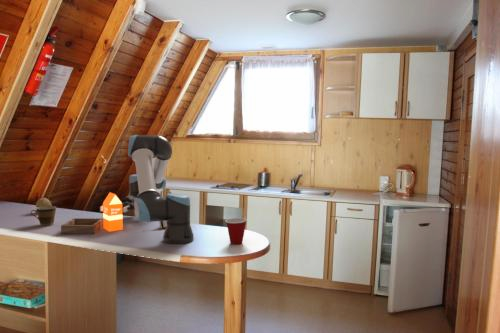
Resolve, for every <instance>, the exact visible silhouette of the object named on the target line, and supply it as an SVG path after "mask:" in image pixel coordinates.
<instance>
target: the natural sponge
mask: <svg viewBox="0 0 500 333" xmlns="http://www.w3.org/2000/svg"><path fill="white" fill-rule="evenodd" d="M42 206H53V205H52V202H51V200H49V199H48V198H46V197H41V198H39V199H38V200H37V201H36V203H35V207H36V208H38V207H42Z"/></svg>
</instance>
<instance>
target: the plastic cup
mask: <svg viewBox="0 0 500 333" xmlns="http://www.w3.org/2000/svg"><path fill="white" fill-rule="evenodd" d="M247 220H248V219H247V218H245V217H244V218H243V217H234V218H228V219H226V220H224V222H225V223H226V227H227V231H228V236H229V237H228V238H229V242H230V244H231V245H237V246H238V245H242V244H243V241H244V237H245V230H246V226H247V225H246V224H247Z"/></svg>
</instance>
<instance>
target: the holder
mask: <svg viewBox="0 0 500 333" xmlns="http://www.w3.org/2000/svg"><path fill="white" fill-rule="evenodd" d="M102 229H104V224H103V217H102V218H97V217H96V218H93V217H91V218H90V217H89V218H87V217H86V218H83V217H82V218H80V217H79V218H77V217H75V218H74V217H73V218H72V219H70V220H68V221H66V222H65V223H63V224H61V225H60V233H61V235H95V234H96V233H97V232H100V231H101V230H102Z"/></svg>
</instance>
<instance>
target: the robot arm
mask: <svg viewBox="0 0 500 333" xmlns="http://www.w3.org/2000/svg"><path fill="white" fill-rule="evenodd" d="M127 149H128V153H127V155H128V157H131V160H132V161H133V162H134V164H135V170H136V171H135V172H136V174H131V175H129V182H128V184H129V195H128V196H125V197H123V198H122V199H120V201H121V202H122V213H126V212H129V211H132V210H133V211H134V214H135V217H136V219H137V221H138V222H140V223H151V222H159V221H166V220H167V226H166V227H165V229H164V233H163V236H162V241H163V242H164V243H167V244H173V245H179V244H181V245H182V244H188V243H190V242H193V241H194V239H195V238H194V232H193V229H192V226H191V198H190V197H189V196H188V195H185V194H181V193H167V194H166V196H161V194H160V191H158V190H162V189H165V188H166V186H167V180H166V177H165V175H166V170H167V166H168V163H169V160H170V159H171V157H172V155H173V147H172V145H171V143H170V141H169V140H168V139H167V138H165V137H164V136H163V135H158V134H156V135H155V134H154V135H151V134H150V135H149V134H135V135H130V136H129V140H128V148H127ZM154 157H155V158H154ZM153 158H154V163H153ZM99 212H103V203H101V206H99Z"/></svg>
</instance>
